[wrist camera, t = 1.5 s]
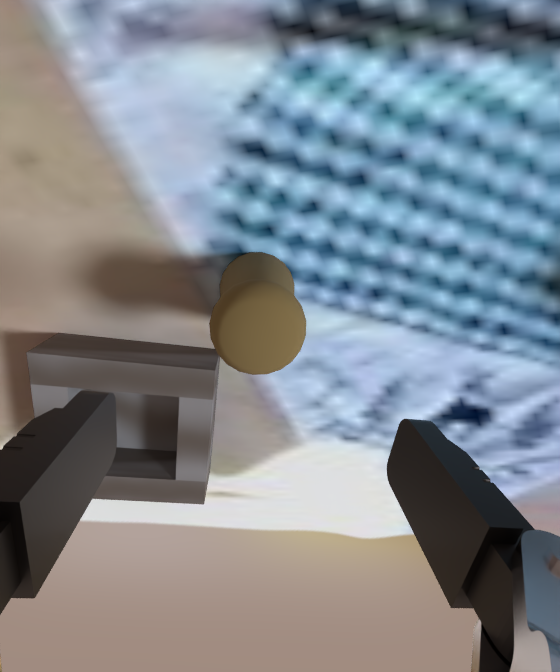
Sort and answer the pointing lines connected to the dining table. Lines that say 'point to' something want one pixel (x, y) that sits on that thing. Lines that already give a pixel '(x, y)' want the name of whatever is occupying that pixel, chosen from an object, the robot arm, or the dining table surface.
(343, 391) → the dining table surface
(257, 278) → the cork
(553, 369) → the dining table surface
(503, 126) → the dining table surface
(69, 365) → the square holder
